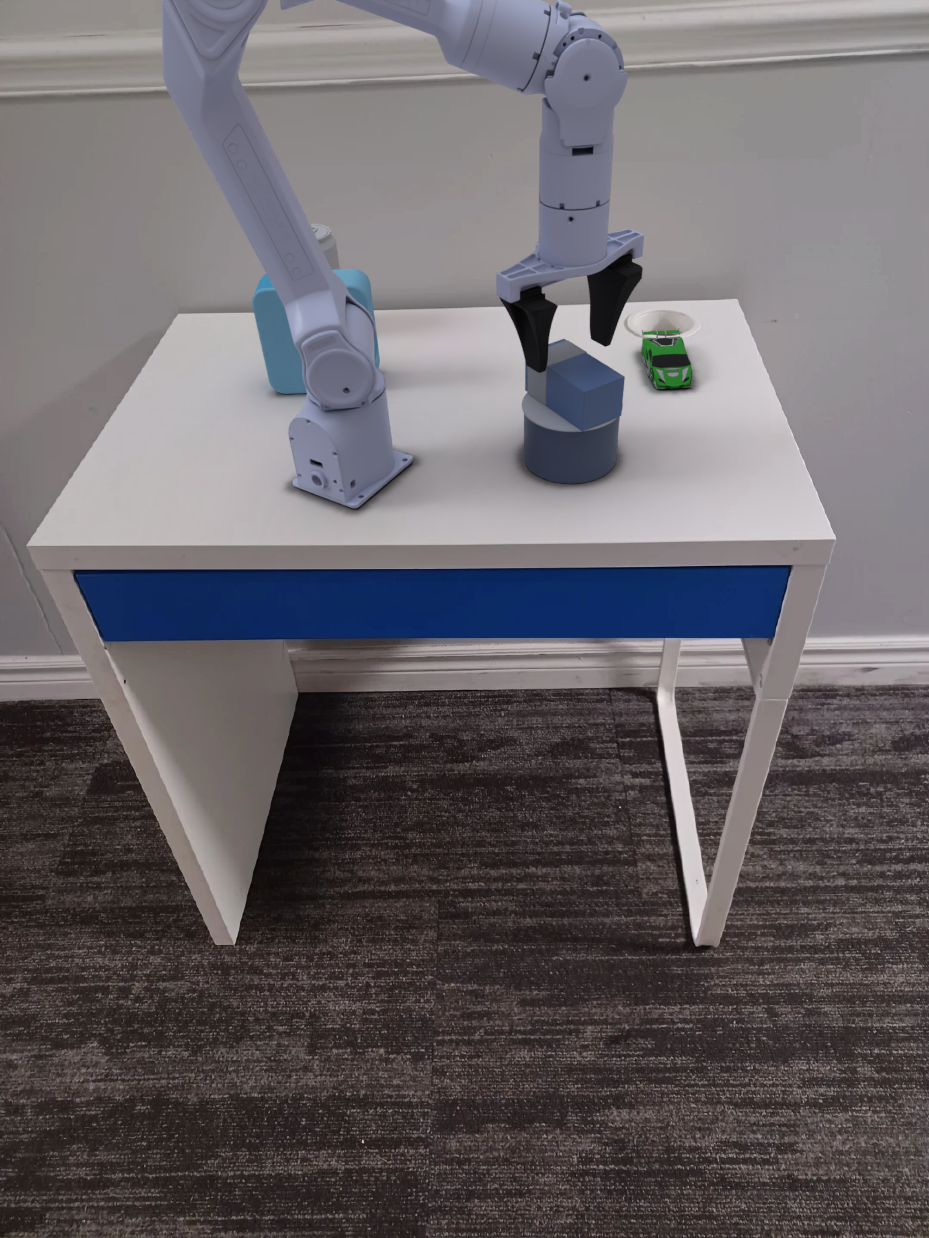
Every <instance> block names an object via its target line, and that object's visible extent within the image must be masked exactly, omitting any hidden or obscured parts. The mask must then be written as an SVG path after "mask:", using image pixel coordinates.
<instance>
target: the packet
mask: <svg viewBox="0 0 929 1238" xmlns="http://www.w3.org/2000/svg"><path fill="white" fill-rule="evenodd" d="M625 381H626V377H625V375H623V374H621V373H619V372H618V371H617V370H615V369H614V368H612V367H610V366H609V365H607V364H606V363H604V362H602V361H601V360H599V359H597V358H596V357H594V356H593V355H591V354H589V353H588V352H587V351H586V350H584V349H583V348H581V347H579V346H578V345H576V344H575V343H573V342H572V341H570V340H569V339H568V340H567V339H566V338H562V339H558V340H556V341H553V342H550V343H549V345H548V362H547V367H546V371H544V372H541V373H538V372H536V371H535V370H533V369H531V368H530V367H528V366H526V362H525V361H524V383H525V384H524V390H525V392H526V393H527V392H528V394H530V395H531V396H532V397H534V398H535V399H537V400H538V401H539V402H541V403H542V404H543V405H545V406H547V407H549V408H550V409H552V410H553V411H554V412H556V413H557V414H559V415H560V416H561V417H563V418H564V419H566V420H567V421H568V422H570V423H571V424H572V425H574V426H575V427H577V428H578V429H579V430H581V431H585V430H588V429H590V428H593V427H595V426H598V425H600V424H603V423H605V422H608V421H610V420H613V419H615V418H618V417H620V418H621V417H622V412H623V408H622V403H623V402H624V401H623V400H624V392H625V391H624V390H625ZM623 404H624V403H623Z"/></svg>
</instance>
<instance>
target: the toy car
mask: <svg viewBox="0 0 929 1238" xmlns="http://www.w3.org/2000/svg"><path fill="white" fill-rule="evenodd" d="M671 334H679V336H669V337H667V335H671ZM648 335H651V336H652V335H653V336H654V335H656V337H644V336H648ZM659 335H664V337H659ZM680 335H681V329H680V328H678V329H669V330H666V329H665V330H663V329H661V330H650V331H649V330H648V331H644V330H643V329H642V330H641V336H642V343H641V357H642V358H641V360H642V362H643V364H644V365H645V366H646V368H645V369H646V374H647V377H649V378H650V382H651V383H652V385H653V387H655V389H656V390H657V389H658V390H665V389H670V390H674V389H675V390H677V389H680V388H682V389H686V388H692V383H693V378H692V377H693V366H692V363H691V361H690V358H689V357H688V353H687V350H686V347H685V342H684V339H683V338H682V337H681V336H680Z"/></svg>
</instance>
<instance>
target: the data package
mask: <svg viewBox="0 0 929 1238" xmlns="http://www.w3.org/2000/svg"><path fill="white" fill-rule="evenodd" d="M332 271H333V272H334V273H335V274H336V275H337V276H339V277H340V278H341V279H342V280H343V282H344V284H345V286H346V288H347V290H348V291H349V293H350V295H351V296H352V297H353V298H354V299H355V300H356V301H357V302H359V303H360V304H361V305H362V306H364V307H365V308H366V309H367V310H368V311H369V313H370V314H371V316H372V318H373V320H374V323H375V328H376V329H377V325H376V317H375V310H374V302H373V301H374V300H373V295H372V285H371V281H370V278H369V276H368V275H367V274H366V273H365V272H364V271H362V270H361V269H357V268H340V269H335V270H332ZM251 307H252V311H253V316H254V319H255V324H256V328H257V333H258V338H259V342H260V346H261V351H262V355H263V359H264V360H263V361H264V364H265V369H266V373H267V378H268V382H269V384H270V387H272V389H273V390H275V391H276V392H277V393H280V394H283V395H290V394H294V395H295V394H307V392H306V387H305V384H304V381H303V376H302V366H303V365H302V359H301V356H300V354H299V352H298V350H297V348H296V346H295V344H294V342H293V338H292V335H291V331H290V326H289V322H288V318H287V314H286V311H285V307H284V305H283V303H282V301H281V299H280V297H279V296H278V294H277V292H276V290H275V288H274V286H273V285H272V283H271V281H270V279H269V277H268V275H267V273H265V274H263V275H262V276H261V278H260V279H259V281H258V283H257V286H256V288H255V290H254V292H253V295H252V298H251ZM377 334H378V333H377V332H376V336H375V342H374V358H375V367H376V368H377V369H378V370H379V369H380V364H381V363H380V362H381V358H380V349H379V342H378V335H377Z"/></svg>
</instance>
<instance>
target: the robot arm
mask: <svg viewBox="0 0 929 1238" xmlns="http://www.w3.org/2000/svg"><path fill="white" fill-rule="evenodd" d="M160 1H161V36H162V37H161V42H162V43H161V45H162V46H161V48H162V50H161V53H162V56H161V57H162V61H161V62H162V79H163V81H164V82H163V83H164V85H165V87H166V91H167V93H168V95H169V96H170V98H171V100H172V102H173V104H174V105H175V107H176V109H177V111H178V113H179V115H180V116H181V118H182V120H183V122H184V124H185V126H186V127H187V130H188V131H189V133H190V135H191V137H192V139H193V140H194V142H195V145H196V146H197V148H198V150H199V151H200V153H201V156H202V157H203V159H204V161H205V162H206V163H205V164H207V167H208V168H209V170H210V172H211V174H212V177H214V180H215V181H216V183H217V185H218V186H219V188H220V190H221V192H222V194H223V196H224V198H225V200H226V201H227V203H228V205H229V207H230V209H231V211H232V213H233V215H234V216H235V218H236V220H237V222H238V223H239V226H240V227H241V229H242V232H243V233H244V234H245V236H246V238H247V240H248V242H249V244H250V246H251V248H252V249H253V252H254V254H255V255H256V257H257V259H258V261H259V262H260V264H261V266H262V268H263V270H264V271H265V274H267V275H268V277H269V279H270V281H271V283H272V285H273V286H274V288H275V290H276V292H277V294H278V296H279V297H280V299H281V301H282V303H283V305H284V307H285V311H286V314H287V318H288V322H289V326H290V331H291V335H292V338H293V342H294V344H295V346H296V348H297V350H298V352H299V354H300V356H301V359H302V365H303V366H302V376H303V381H304V384H305V387H306V392H307V393H306V396H305V400H304V403H303V405H302V407H301V409H300V410H299V412H298V413H297V415H296V416H295V417H294V418H292V420H291V421H290V423H289V425H288V432H287V433H288V441H289V444H290V449H291V454H292V458H293V464H294V468H295V472H296V477H295V478H293V480H292V486H293V487H295V488H297V489H301V490H303V491H306V492H308V493H311V494H314V495H316V496H318V497H321V498H323V499H326V500H329V501H332V502H335V503H337V504H340V505H343V506H345V507H348V508H349V509H350V508H351V509H358V508H360V507H361V506H362V505H363V504H364V503H365V502H367V501H368V500H369V499H370V498H371V497H373V496H374V495H375V494H376V493H378V491H380V490H381V489H382V488H383V487H384V486H386V485H387V484H388V483H389V482H390V481H391V480H393V479H394V478H395V477H397V475H399V474H400V473H401V472H402V471H404V470H405V469H406V468H407V467H408V466H409V465H411V464H412V463H413V462H414V456H413V455H411V454H408V453H405V452H402V451H400V450H396V449H394V445H393V437H392V429H391V420H390V413H389V406H388V405H389V404H388V397H387V396H388V395H387V390H386V388H387V387H386V380H385V376H384V374H383V373H382V372H381V371H380V370H379V369H377V368H376V367H375V358H374V342H375V336H376V333H377V327H376V328H375V325H376V322H375V323H374V320H373V318H372V316H371V314H370V313H369V311H368V310H367V309H366V308H365V307H364V306H362V305H361V304H360V303H359V302H357V301H356V300H355V299H354V298H353V297H352V296H351V295H350V293H349V291H348V290H347V288H346V286H345V284H344V282H343V280H342V279H341V278H340V277H339V276H337V275H336V274H335V273H334V272H333V271H332V269H331V267H330V265H329V263H328V261H327V259H326V257H325V255H324V253H323V251H322V248H321V246H320V244H319V242H318V240H317V238H316V236H315V234H314V232H313V230H312V228H311V226H310V224H311V223H310V222H309V219H308V218H307V216H306V213H305V211H304V210H303V208H302V206H301V203H300V201H299V199H298V197H297V195H296V194H295V193H296V192H295V191H294V188H293V186H292V185H291V183H290V181H289V178H288V176H287V174H286V173H285V170H284V169H283V166H282V164H281V162H280V160H279V157H278V156H277V154H276V152H275V150H274V148H273V146H272V144H271V142H270V140H269V138H268V135H267V133H266V131H265V129H264V127H263V125H262V123H261V120H260V119H259V118H258V115H257V113H256V111H255V108H254V107H253V105H252V102H251V100H250V98H249V96H248V95H247V92H246V91H245V89H244V86H243V84H242V82H241V80H240V77H239V72H240V68H241V64H242V60H243V58H244V57H243V56H244V54H245V49H246V47H247V42H248V40H249V36H250V32H252V31H251V30H253V29H254V26H255V25H256V23H257V22H258V20H259V18H260V17H261V15H262V14H263V12H264V10H265V9H266V7H267V4H268V2H269V0H160ZM313 1H314V0H279V3H280V10H282V11H284V10H289V9H291V8H295V7H298V6H300V5H304V4H306V3H310V2H313ZM335 1H336V2H339V3H342V4H345V5H348V6H351V7H353V8H357V9H359V10H362V11H364V12H367V13H369V14H373V15H375V16H378V17H381V18H384V19H386V20H390V21H392V22H395V23H398V24H400V25H402V26H403V25H404V26H406V27H409V28H412V29H414V30H417V31H420V32H423V33H426V34H428V35H431V36H434V37H435V38H436V40H437V43H438V44H439V47H440V50H441V52H442V56H443V57H444V60H445V61H446V63H447V64H449V65H450V66H454V67H455V68H458V69H460V70H463V71H466V72H467V73H471V74H472V75H475V76H478V77H481V78H482V79H486V80H488V81H490V82H493V83H495V84H498V85H501V86H503V87H505V88H508V89H510V90H513V91H515V92H517V93H521V94H523V95H526V96H530V95H536V94H537V95H539V94H540V95H544V96H545V97H543V98H541V131H540V135H539V149H538V151H539V152H538V153H539V154H538V158H539V159H538V240H537V241H536V242H535V251H533V252H531V253H530V254H528V255H526V257H524V258H522V259H521V260H519V261H517V262H516V263H514V264H513V265H511V266H509V267H508V268H506V269H504V270H501V271H498V272H496V273H495V278H496V279H495V280H496V283H495V284H496V296H497V297H498V298H499V300H500V302H501V303H502V305H503V307H504V308H505V310H506V312H507V314H508V315H509V317H510V319H511V321H512V323H513V325H514V326H513V327H514V328H515V331H516V334H517V337H518V339H519V342H520V345H521V350H522V353H523V357H524V363H525V362H526V366H528V367H530V368H531V369H533V370H535V371H536V372H538V373H541V372H544V371H546V367H547V362H548V345H549V344H550V343H549V342H550V334H551V329H552V324H553V321H554V317H555V314H556V312H557V310H558V307H559V305H557V303H555V302H553V301H550V300H549V299H547V298H546V293H545V292H544V293H543V288H546V287H548V286H549V287H550V286H551V285H555V284H557V283H559V282H563V281H565V280H568V279H574V278H575V279H576V278H580V277H586V279H587V280H586V281H587V285H588V286H587V287H588V294H589V334H590V340H591V341H594V342H596V343H597V344H599V345H602V347H605V348H606V347H609V346H611V345H612V341H613V339H614V335H615V332H616V330H617V327H618V323H619V321H620V318H621V315H622V313H623V311H624V308H625V306H626V304H627V302H628V300H629V298H630V297H631V295H632V293H633V291H635V288H636V287H637V286H638V284H639V283H640V281H641V280H642V278H643V272H644V271H643V270H644V268H643V266H642V265H641V264H638V263H636V262H634V261H633V260H636V259H640V258H642V257H643V252H644V244H645V243H644V242H645V241H644V240H645V234H644V233H642V232H639V231H637V230H635V229H632V228H630V227H629V228H625V229H621V230H618V231H617V230H616V231H613V232H609V224H610V223H609V221H610V207H611V194H612V193H611V192H612V175H613V161H614V160H613V158H614V145H615V143H614V141H615V135H614V119H615V108H616V107H617V105H618V104H619V102H620V101H621V99H622V97H623V95H624V93H625V90H626V87H627V83H628V76H629V74H628V72H626V71H625V62H624V57H623V54H622V53H623V52H622V50H621V48H620V47H619V45H618V43H617V41H616V40H614V38H613V37H612V36H611V35H610V34H609V33H608V32H607V31H606V30H605V28H603V26H602V25H600V23H598V22H597V21H596V20H595V19H592V18H591V17H588V16H587V15H586V13H585V12H584V11H582V10H573V7H572V5H571V4H570V3H568V2H566V1H563V0H556V2H555V5H554V4H550V3H549V2H546V1H544V0H335Z"/></svg>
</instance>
